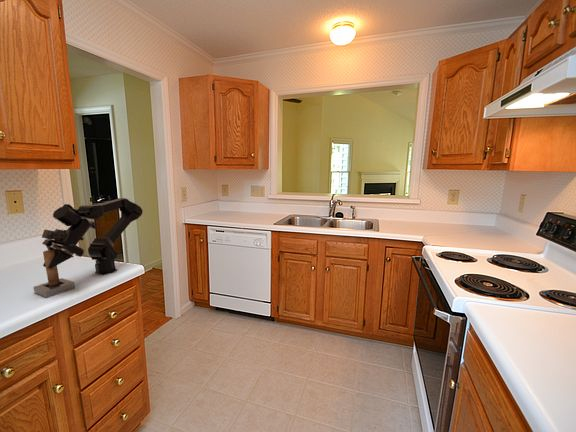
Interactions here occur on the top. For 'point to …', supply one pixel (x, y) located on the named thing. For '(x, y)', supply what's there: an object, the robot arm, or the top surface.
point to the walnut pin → (53, 272)
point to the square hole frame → (54, 288)
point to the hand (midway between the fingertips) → (46, 267)
